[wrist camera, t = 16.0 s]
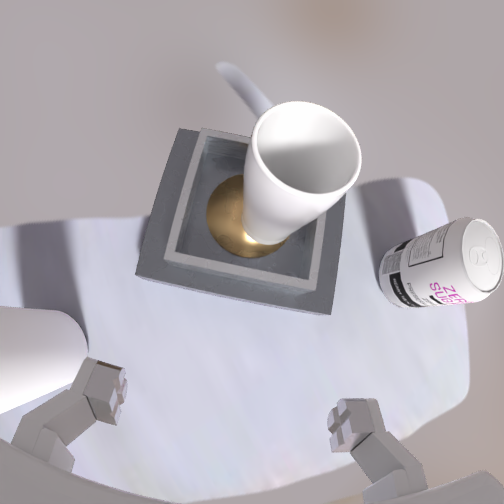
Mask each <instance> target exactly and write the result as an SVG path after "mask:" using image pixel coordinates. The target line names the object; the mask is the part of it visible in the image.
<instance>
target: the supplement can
mask: <svg viewBox="0 0 504 504" xmlns="http://www.w3.org/2000/svg"><path fill="white" fill-rule="evenodd" d="M503 273H504V255H503V249H502V246H501V243H500V240H499V237H498V236H497V234H496V232H495V230H494V229H493V227H491V226H490V225H489V224H488V223H487V222H486V221H484V220H481V219H473V218H470V217H465V218H460V219H457V220H455V221H453V222H451V223H448V224H446V225H444V226H442V227H439V228H437V229H435V230H432V231H430V232H428V233H425V234H423V235H420V236H418V237H416V238H413V239H411V240H409V241H406V242H404V243H401V244H399V245H396V246H394V247H392V248H391V249H390V250H389V251H387V252H386V253H385V255H384V257H383V259H382V261H381V264H380V269H379V280H380V286H381V288H382V291H383V294H384V295H385V297H386V298H387V299H388V300H389V302H390V303H392V304H393V305H395V306H397V307H399V308H419V307H432V306H443V305H453V304H463V303H472V302H479V301H481V300H483V299H485V298H486V297H488V296H489V294H491V292H493V291H495V290H496V289H497V287H498V286H499V284H500V283H501V280H502V276H503Z"/></svg>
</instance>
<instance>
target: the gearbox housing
mask: <svg viewBox="0 0 504 504" xmlns="http://www.w3.org/2000/svg"><path fill="white" fill-rule="evenodd" d="M250 138H251V137H246V136H241V135H236V134H232V133H227V132H222V131H216V130H211V129H205V128H201V131H200V132H198V131H192V130H186V129H179V130H178V133H177V136H176V138H175V141H174V144H173V147H172V150H171V153H170V155H169V159H168V161H167V164H166V167H165V170H164V173H163V176H162V180H161V182H160V186H159V189H158V192H157V195H156V199H155V202H154V205H153V209H152V212H151V215H150V219H149V222H148V226H147V230H146V233H145V237H144V241H143V244H142V248H141V252H140V256H139V260H138V264H137V268H136V273H135V275H136V276H138V277H140V278H142V279H145V280H149V281H153V282H157V283H162V284H166V285H170V286H174V287H179V288H183V289H188V290H192V291H197V292H201V293H206V294H211V295H215V296H220V297H225V298H230V299H235V300H240V301H245V302H250V303H255V304H260V305H265V306H270V307H276V308H281V309H286V310H292V311H298V312H303V313H309V314H315V315H331V311H332V305H333V298H334V292H335V285H336V278H337V271H338V263H339V255H340V247H341V238H342V229H343V219H344V209H345V197H346V193H345V194H344V195H343V196H342V197H341V198H340V199H339V200H338V201H337V202H336V203H335V204H334V205H333V206H332V207H331V208H330V209H328V210H327V211H326V212H325V213H323V214H322V215H321V216H319V217H318V218H316V219H315V220H313V221H311V222H310V223H308V224H306V225H305V226H303V227H302V228H300V229H298V230H297V231H295V232H294V233H292V234H291V235H289V236H288V237H287V238H286V239H285V240H284V241H282V242H280V243H277V244H274V245H264V244H260V243H258V242H256V241H254V240H252V239H251V238H250V237H249V236H248V235H247V234H246V232H245V231H244V229H243V226H242V222H241V213H242V209H243V174H244V163H245V158H246V153H247V148H248V145H249V141H250Z"/></svg>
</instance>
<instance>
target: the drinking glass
mask: <svg viewBox="0 0 504 504" xmlns="http://www.w3.org/2000/svg"><path fill="white" fill-rule="evenodd" d="M361 164H362V155H361V149H360V145H359V142H358V140H357V138H356V136H355V134H354V133H353V131H352V130H351V128H350V127H349V126H348V124H347V123H346V122H345V121H344V120H343V119H342V118H340V117H339V116H338V115H337V114H335V113H334V112H332V111H331V110H329V109H327V108H325V107H323V106H320V105H317V104H314V103H310V102H304V101H289V102H284V103H280V104H278V105H275V106H273V107H271V108H270V109H268V110H267V111H265V112H264V113H263V114H262V115H261V116H260V118H259V119H258V120H257V122H256V124H255V126H254V129H253V132H252V135H251V138H250V141H249V145H248V148H247V153H246V158H245V163H244V174H243V209H242V213H241V222H242V226H243V229H244V231H245V232H246V234H247V235H248V236H249V237H250V238H251V239H252V240H254V241H256V242H258V243H260V244H264V245H274V244H277V243H280V242H282V241H284V240H285V239H286V238H287V237H288V236H289V235H291V234H292V233H294V232H295V231H297V230H298V229H300V228H302V227H303V226H305V225H306V224H308V223H310V222H311V221H313V220H315V219H316V218H318V217H319V216H321V215H322V214H323V213H325V212H326V211H327V210H328V209H330V208H331V207H332V206H333V205H334V204H335V203H336V202H337V201H338V200H339V199H340V198H341V197H342V196H343V195H344V194H345V193H346V192H347V191H348V189H349V188H350V187H351V186H352V185H353V184H354V182H355V181H356V179H357V178H358V175H359V173H360V170H361Z"/></svg>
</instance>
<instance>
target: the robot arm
mask: <svg viewBox="0 0 504 504" xmlns="http://www.w3.org/2000/svg"><path fill="white" fill-rule="evenodd" d="M125 374H126V373H125V368H123V367H119V366H115V365H112V364H109V363H105V362H102V361H99V360H96V359H92V358H89V357H86V358H85V359H84V360H83V362H82V365H81V367H80V369H79V371H78V373H77V375H76V377H75V379H74V382H73V384H72V386H71V388H70V390H67V389H66V390H64V391H63V392H61V393H59V394H58V395H56V396H55V397H53V398H51V399H50V400H48V401H47V402H45V403H43V404H42V405H40V406H38V407H37V408H35V409H34V410H32V411H30V412H29V413H27V414H26V415H24V416H23V417H22V419H21V421H20V423H19V426H18V428H17V430H16V433H15V435H14V437H13V440H12V442H11V444H10V443H8V442H7V441H5V440H3V439H1V438H0V504H180V503H175V502H169V501H164V500H160V499H155V498H150V497H146V496H142V495H138V494H134V493H130V492H127V491H123V490H120V489H116V488H113V487H110V486H107V485H104V484H100V483H98V482H95V481H92V480H89V479H86V478H83V477H81V476H78V475H76V474H73V473H71V472H72V468H73V465H74V461H75V458H74V456H73V455H72V454H71V452H70V451H69V450H68V449H67V447H66V446H67V445H68V444H70V443H71V442H72V441H73V440H75V439H76V438H77V437H78V436H79V435H80V434H82V433H83V432H84V431H85V430H86V429H88V428H89V427H90V426H91V425H92V424H94V423H95V422H96V420H98V421H101V422H105V423H108V424H112V425H116V426H117V423H118V420H119V417H120V414H121V409H120V405H121V404H122V403H124V401H125V398H126V393H127V380H126V379H125V378H124V376H125ZM327 425H328V430H329V431H330V432H331V433H332V436H331V437H330V445H331V451H332V452H350V454H351V455H352V457H353V458H354V459H355V461H356V462H357V463H358V464H359V466H360V467H361V469H362V470H363V471H364V472H365V474H366V475H367V476H368V478H369V479H370V480H371V482H372V483H373V484H372V485H370V486H368V487H367V488H365V489H364V490H363V499H364V504H504V488H503V485H502V484H501V483H500V482H499V481H498V480H497V479H496V478H495V477H494V476H493V475H492V474H490V473H489V472H488V471H486V470H480V471H478V472H475V473H472V474H470V475H467V476H465V477H463V478H460V479H457V480H454V481H451V482H448V483H446V484H443V485H440V486H436V487H433V488H430V489H428V486H427V482H426V478H425V474H424V470H423V467H422V464H421V463H420V462H419V461H418V460H417V459H416V458H415V457H414V456H413V455H412V454H411V453H410V452H409V451H408V450H407V449H406V448H405V447H404V446H403V445H402V444H401V443H400V442H399V441H398V440H397V439H396V438H395V437H394V436H393V435H392V434H391V433H390V432H389V431H388V432H386V429H385V426H384V422H383V419H382V415H381V412H380V408H379V405H378V402H377V400H376V399H374V398H369V399H363V398H349V399H340V400H339V401H338V402H337V407H335V408H333V409H332V410H331V411H330V413H329V416H328V421H327Z"/></svg>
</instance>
